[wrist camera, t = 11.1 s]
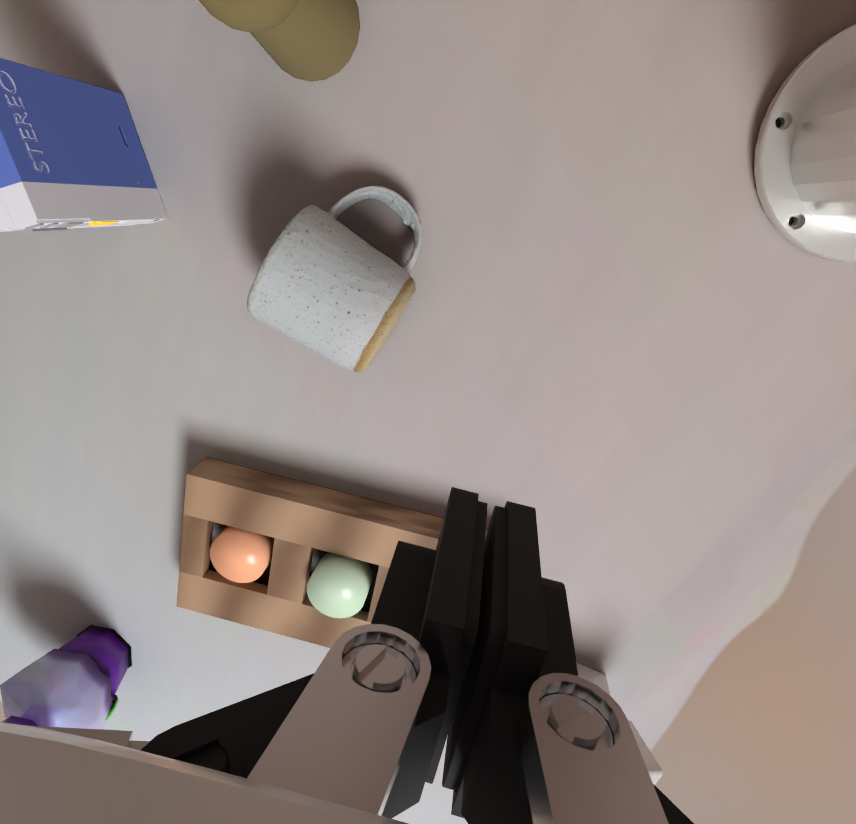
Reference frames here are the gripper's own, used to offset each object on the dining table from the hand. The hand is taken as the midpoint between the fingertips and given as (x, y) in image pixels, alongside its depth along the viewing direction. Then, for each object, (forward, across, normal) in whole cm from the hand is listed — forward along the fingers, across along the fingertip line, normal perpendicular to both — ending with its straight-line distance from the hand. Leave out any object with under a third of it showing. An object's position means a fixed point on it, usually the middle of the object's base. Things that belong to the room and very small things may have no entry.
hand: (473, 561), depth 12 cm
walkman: (+29, +26, -4) cm, 39 cm away
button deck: (+29, +6, +22) cm, 37 cm away
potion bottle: (+29, +27, +38) cm, 55 cm away
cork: (+29, +15, -14) cm, 36 cm away
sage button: (+27, +7, +22) cm, 36 cm away
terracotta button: (+29, +15, +22) cm, 39 cm away
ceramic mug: (+29, +10, -1) cm, 31 cm away
